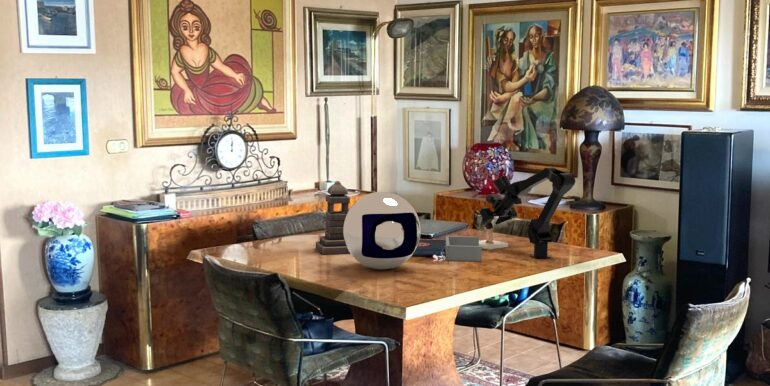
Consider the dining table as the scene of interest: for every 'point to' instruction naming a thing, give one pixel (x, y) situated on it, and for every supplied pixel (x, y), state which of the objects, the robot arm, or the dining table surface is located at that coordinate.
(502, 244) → the ceramic tile
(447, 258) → the open crate
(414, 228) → the spherical light
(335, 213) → the miniature tower
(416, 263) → the dining table surface
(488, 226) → the grandmother figurine
